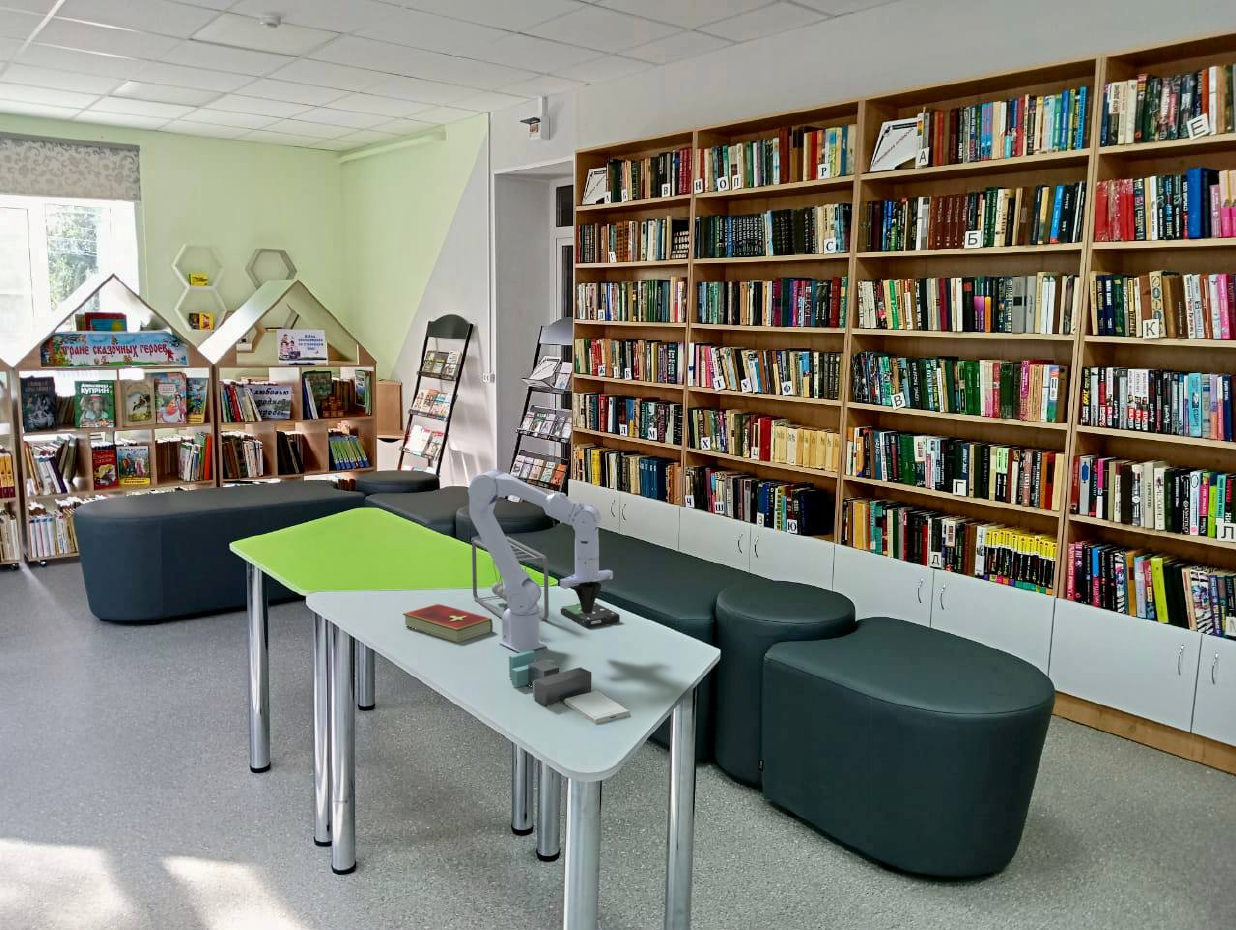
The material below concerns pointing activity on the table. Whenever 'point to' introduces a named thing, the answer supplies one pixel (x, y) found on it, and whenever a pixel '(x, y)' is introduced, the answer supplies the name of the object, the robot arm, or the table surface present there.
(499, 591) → the newton's cradle
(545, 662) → the steel block
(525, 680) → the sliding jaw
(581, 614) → the disk drive
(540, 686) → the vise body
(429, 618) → the hardcover book
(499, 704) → the table surface
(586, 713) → the hard drive
